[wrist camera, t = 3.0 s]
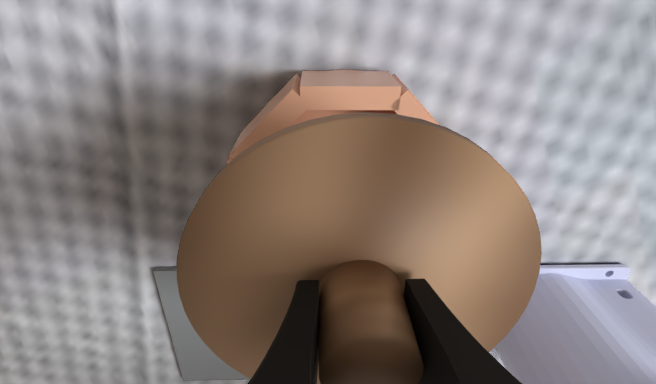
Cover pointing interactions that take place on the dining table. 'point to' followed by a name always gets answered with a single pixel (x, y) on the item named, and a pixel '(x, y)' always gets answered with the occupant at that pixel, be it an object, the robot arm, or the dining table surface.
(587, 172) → the dining table surface
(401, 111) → the bowl
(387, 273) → the lid
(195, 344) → the mat
